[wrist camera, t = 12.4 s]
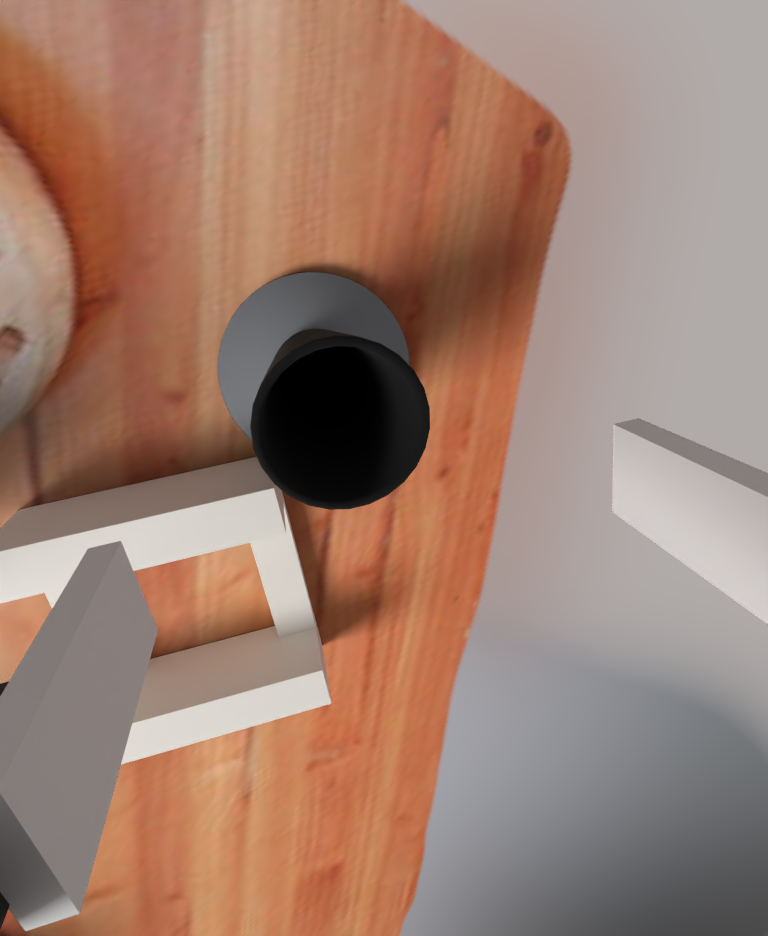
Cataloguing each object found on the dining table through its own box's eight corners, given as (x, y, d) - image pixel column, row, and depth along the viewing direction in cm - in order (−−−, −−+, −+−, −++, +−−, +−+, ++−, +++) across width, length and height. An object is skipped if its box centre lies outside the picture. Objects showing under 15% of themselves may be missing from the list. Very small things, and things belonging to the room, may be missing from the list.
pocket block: (18, 509, 33) (-29, 558, 28) (272, 453, 36) (273, 488, 30) (112, 703, 40) (88, 773, 34) (322, 645, 42) (331, 703, 37)
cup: (303, 283, 31) (324, 295, 21) (400, 360, 34) (465, 407, 23) (229, 387, 33) (212, 450, 22) (329, 453, 36) (359, 539, 25)
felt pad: (194, 291, 31) (192, 292, 30) (391, 256, 33) (394, 256, 32) (247, 476, 36) (246, 481, 35) (418, 438, 37) (421, 441, 37)
